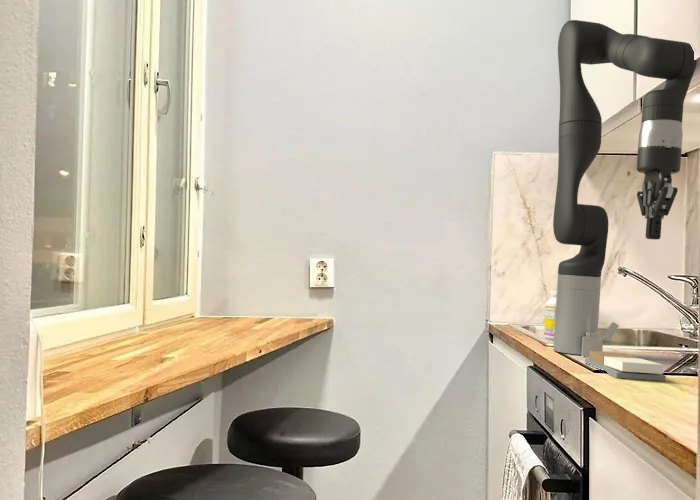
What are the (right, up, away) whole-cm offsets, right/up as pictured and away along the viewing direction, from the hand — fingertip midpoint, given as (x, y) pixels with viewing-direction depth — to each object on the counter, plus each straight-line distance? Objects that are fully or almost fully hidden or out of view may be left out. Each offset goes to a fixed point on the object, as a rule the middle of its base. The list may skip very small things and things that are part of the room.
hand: (652, 239), depth 129 cm
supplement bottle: (-2, -26, +52) cm, 58 cm away
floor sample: (-6, -25, -1) cm, 26 cm away
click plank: (-6, -24, -5) cm, 25 cm away
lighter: (-4, -25, +17) cm, 31 cm away
